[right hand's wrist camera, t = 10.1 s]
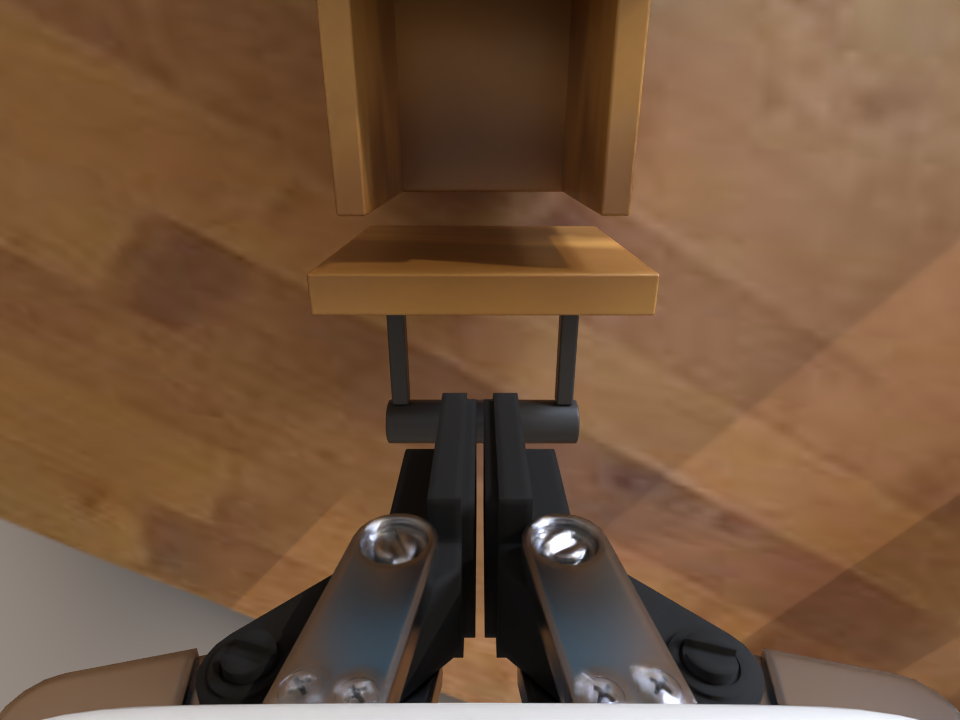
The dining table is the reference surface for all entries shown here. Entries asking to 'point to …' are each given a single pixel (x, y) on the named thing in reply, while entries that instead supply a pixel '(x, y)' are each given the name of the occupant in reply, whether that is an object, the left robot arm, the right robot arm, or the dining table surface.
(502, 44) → the drawer
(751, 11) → the dining table surface
